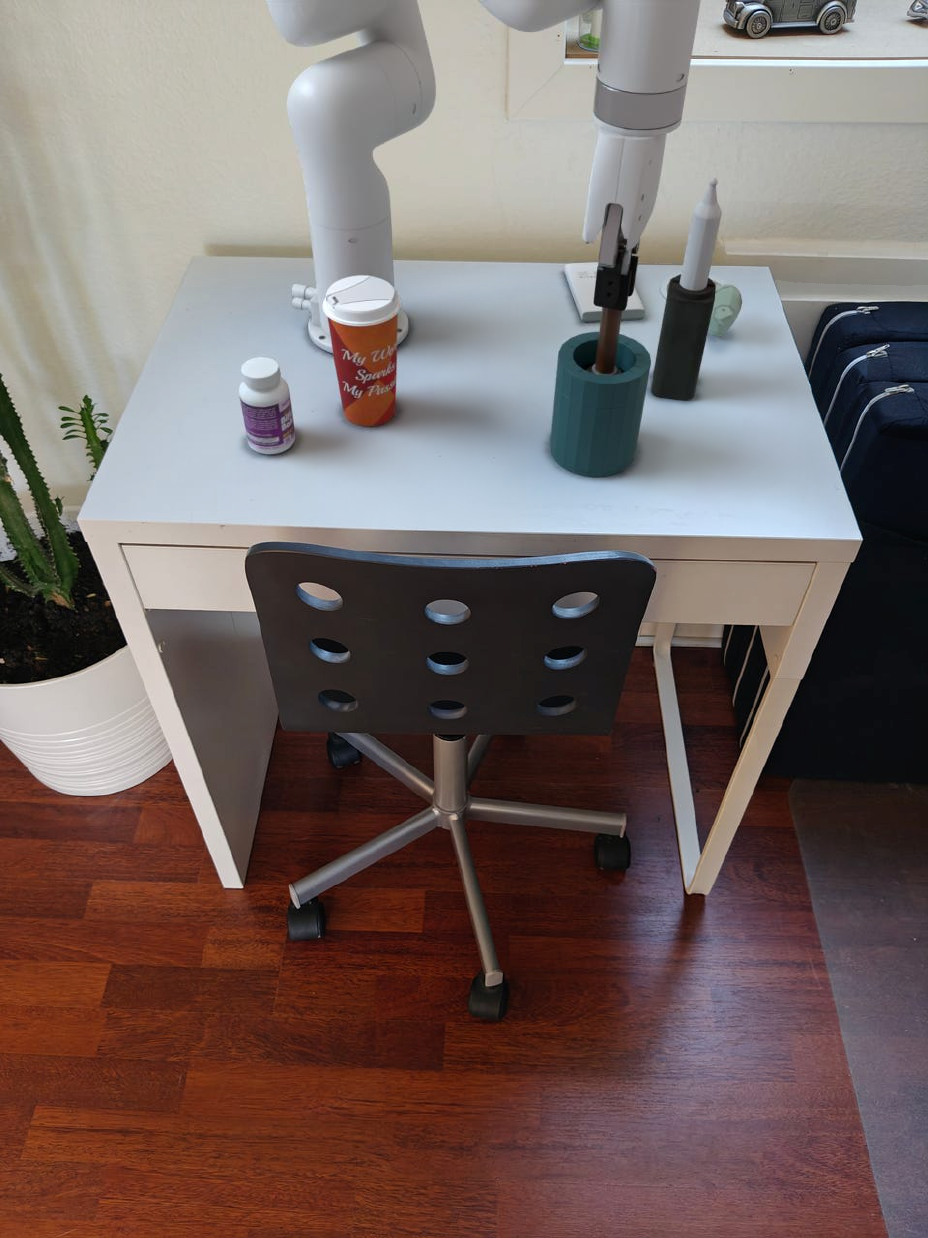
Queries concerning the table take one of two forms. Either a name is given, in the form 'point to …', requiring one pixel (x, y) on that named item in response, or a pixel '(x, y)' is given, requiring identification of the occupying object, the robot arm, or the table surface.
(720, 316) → the green toy fish
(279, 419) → the pill bottle
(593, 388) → the teal hollow cylinder
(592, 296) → the hard drive
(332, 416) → the table surface
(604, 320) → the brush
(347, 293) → the coffee cup
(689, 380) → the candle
